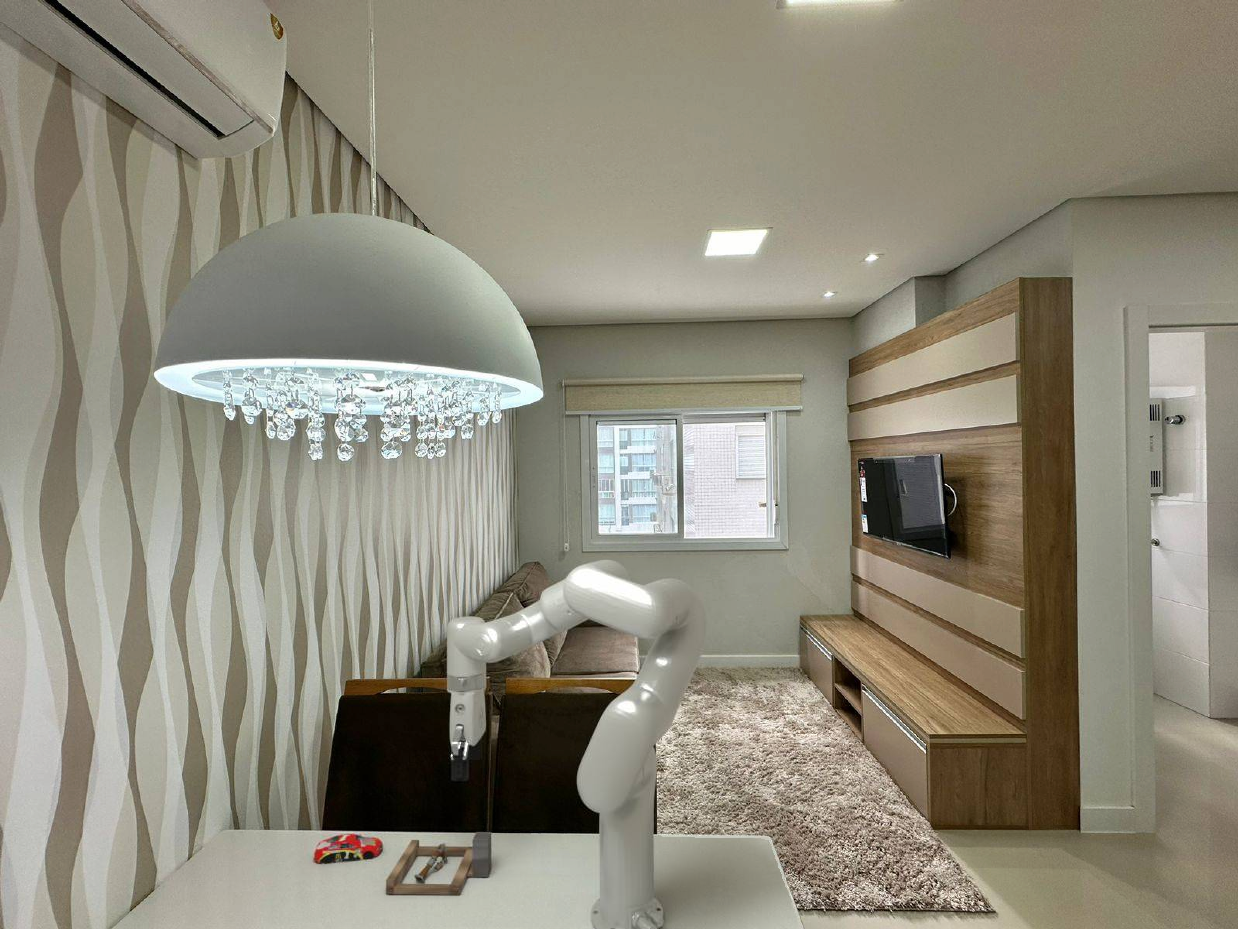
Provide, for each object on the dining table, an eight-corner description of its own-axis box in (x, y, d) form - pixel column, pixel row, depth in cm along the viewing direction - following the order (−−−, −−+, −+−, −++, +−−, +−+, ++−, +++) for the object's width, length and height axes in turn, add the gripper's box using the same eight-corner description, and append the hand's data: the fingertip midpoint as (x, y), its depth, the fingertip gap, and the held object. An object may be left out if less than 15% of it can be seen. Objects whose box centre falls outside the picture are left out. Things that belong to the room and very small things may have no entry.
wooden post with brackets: (452, 858, 136) (446, 841, 135) (427, 894, 130) (421, 877, 128) (445, 856, 137) (439, 839, 136) (420, 891, 131) (413, 875, 129)
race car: (385, 847, 143) (385, 828, 143) (380, 861, 138) (380, 841, 138) (319, 852, 141) (319, 833, 141) (311, 866, 136) (311, 846, 136)
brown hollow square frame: (481, 894, 125) (481, 856, 125) (386, 894, 125) (386, 855, 126) (497, 852, 139) (497, 818, 140) (411, 852, 140) (411, 817, 140)
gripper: (474, 694, 124) (474, 789, 124) (495, 669, 142) (495, 752, 141) (434, 694, 125) (434, 789, 124) (460, 669, 142) (460, 752, 141)
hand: (467, 769), depth 133 cm, fingers open, 9 cm apart
